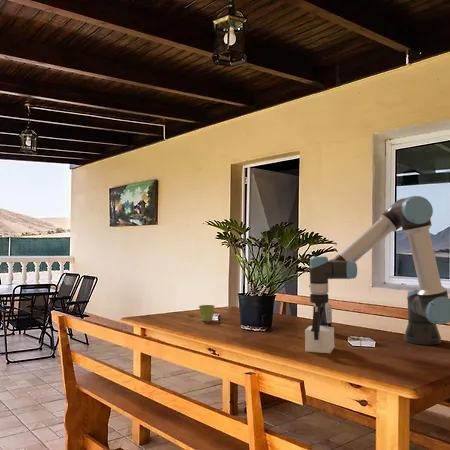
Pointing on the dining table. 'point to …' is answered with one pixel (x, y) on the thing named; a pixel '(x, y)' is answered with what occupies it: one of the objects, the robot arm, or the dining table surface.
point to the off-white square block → (325, 340)
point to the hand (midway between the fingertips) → (320, 344)
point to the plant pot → (206, 312)
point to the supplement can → (328, 314)
